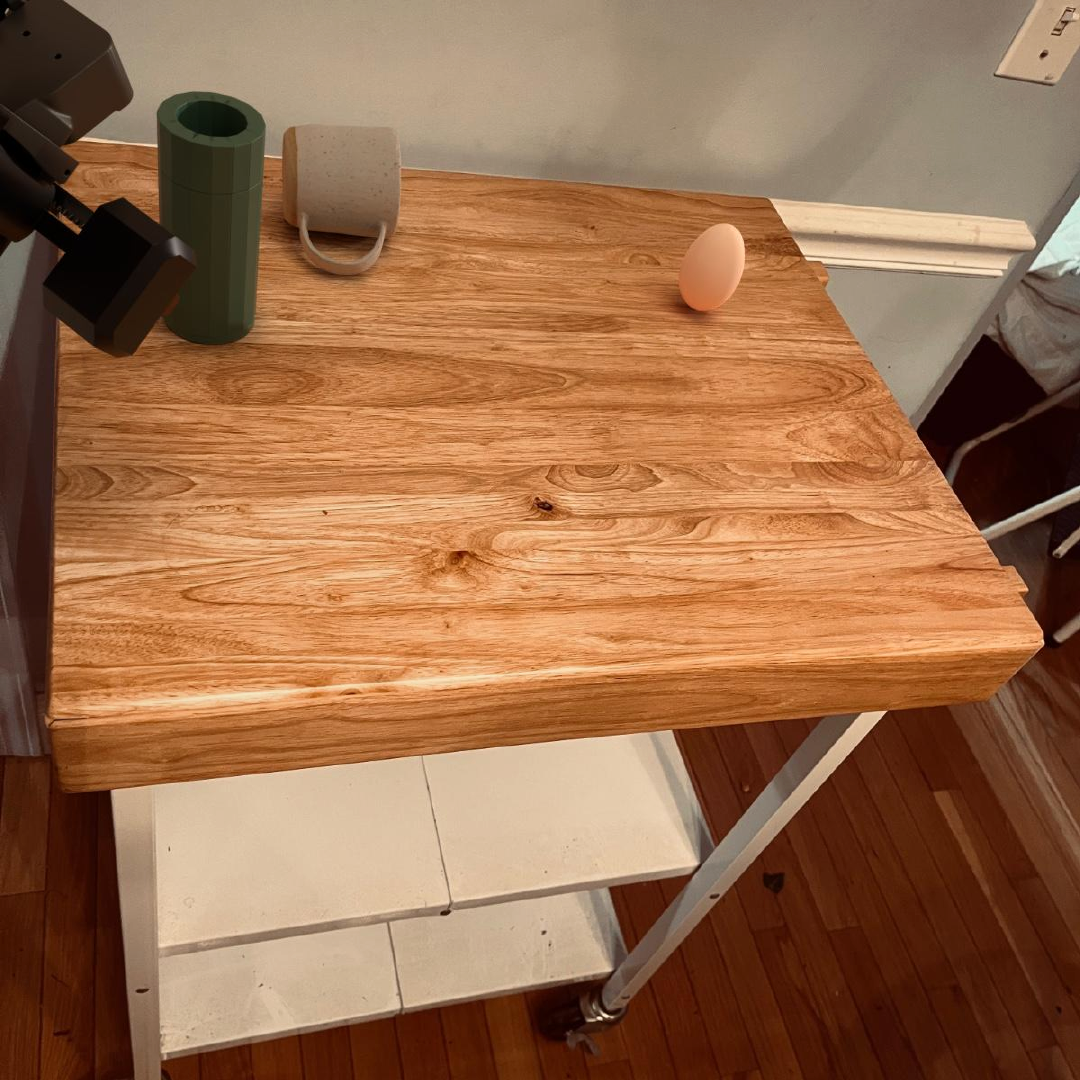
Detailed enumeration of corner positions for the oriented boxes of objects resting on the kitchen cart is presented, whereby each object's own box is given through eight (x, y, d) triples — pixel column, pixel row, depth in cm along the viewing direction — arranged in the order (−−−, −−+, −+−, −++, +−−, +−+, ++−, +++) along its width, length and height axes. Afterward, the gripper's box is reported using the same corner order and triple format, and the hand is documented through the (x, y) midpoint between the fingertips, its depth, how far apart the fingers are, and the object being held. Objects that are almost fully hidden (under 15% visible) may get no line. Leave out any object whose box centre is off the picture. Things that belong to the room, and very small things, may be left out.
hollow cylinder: (195, 355, 68) (195, 155, 57) (144, 303, 70) (136, 101, 59) (272, 328, 71) (285, 134, 61) (221, 279, 73) (227, 84, 63)
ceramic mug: (276, 189, 81) (282, 95, 76) (383, 199, 84) (397, 108, 78) (285, 277, 75) (293, 181, 69) (400, 285, 78) (417, 193, 72)
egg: (734, 322, 85) (771, 243, 79) (687, 328, 83) (721, 247, 77) (704, 285, 87) (737, 206, 82) (657, 290, 85) (688, 209, 80)
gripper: (177, 76, 41) (326, 231, 56) (-141, -148, 45) (80, 54, 60) (8, 309, 41) (202, 400, 57) (-295, 67, 45) (-36, 214, 60)
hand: (112, 259), depth 58 cm, fingers open, 9 cm apart
